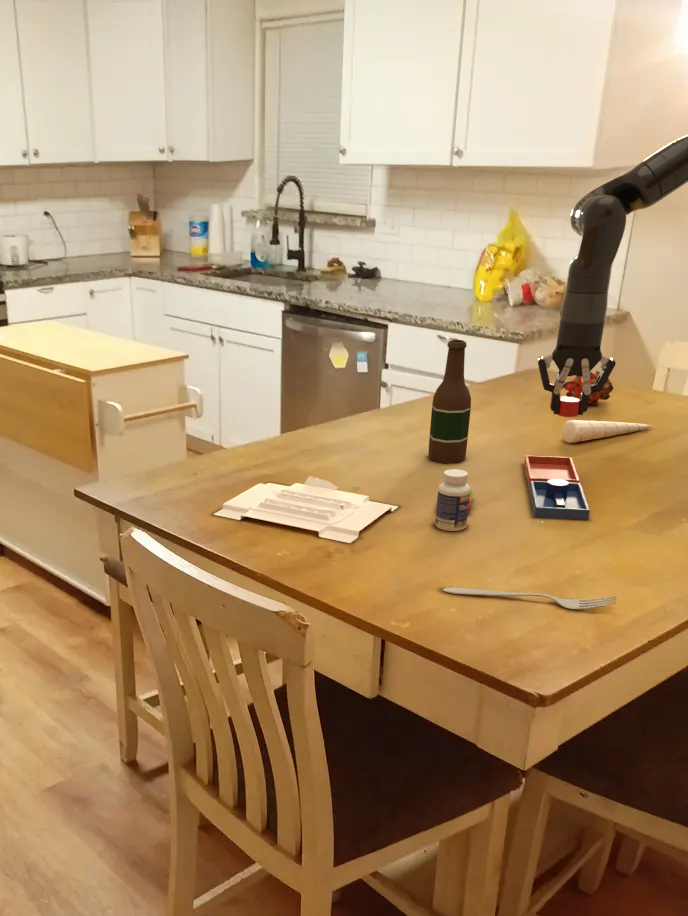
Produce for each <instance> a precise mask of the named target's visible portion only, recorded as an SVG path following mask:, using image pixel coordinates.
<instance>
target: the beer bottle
mask: <svg viewBox="0 0 688 916" xmlns="http://www.w3.org/2000/svg"><path fill="white" fill-rule="evenodd" d="M446 347H447V348H448V350H447V356H446V364H445V370H444V375H443V379H442V382H441V383H440V384H439V386H438V387H437V388H436V390H435V392H434V393H433V398H432V403H431V414H430V415H431V416H430V427H429V437H428V438H429V439H428V457H429V458H430V460H431V461H432V462H436V463H440V464H457V463H460V462H462V461H464V460H466V455H467V448H468V441H469V431H470V430H469V429H470V419H471V409H472V396H471V393H470V389H469V387H468V386H467V384H466V382H465V381H466V380H465V359H466V358H465V354H466V348H467V347H468V345H467V342H466V341H465V340H463V339H452V340H449V341H448V343H447V345H446Z"/></svg>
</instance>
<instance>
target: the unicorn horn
mask: <svg viewBox="0 0 688 916" xmlns="http://www.w3.org/2000/svg"><path fill="white" fill-rule="evenodd" d="M652 427H653V425H651V424H646V423H639V422H638V423H635V422H620V421H606V420H605V421H603V420H580V419H579V420H577V419H569V420H567V421H566V422H565V423H564V424H563V426H562V429H561V434H562V435H561V437H562V438H563V440H564V441H565V442H566V443H569V444H575V443H580V442H587V441H590V440H591V441H593V440H596V439H603V438H608V437H613V436H620V435H624V434H627V433H628V434H630V433H635V432H638V431H644V430H647V429H650V428H652Z"/></svg>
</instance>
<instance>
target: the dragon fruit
mask: <svg viewBox="0 0 688 916" xmlns="http://www.w3.org/2000/svg"><path fill="white" fill-rule="evenodd" d="M600 372H601V371H599V370H595V372H594V373H593V372H592V371H590V372H589V373H590V385H591V384H594V383H595V381H596V379H597V377H598V375H599V374H600ZM563 389H564V390H565V391H567V392H565V396H568V397H574V398H578V399H580V393H582V380H581V377H579V376H575V378H572V379H570V380H567V381H565V383H564V384H563V387H562V389H561V390H563ZM613 390H614V386H613V384H612V382H611V380H610V377H608V379H607V381H606V383H605V385H604V386H603V388H602V390H601V391H600V392H594V393H592V394H591V395H590V397H589V403H590V404H591V405H598V404H599V401H600V400H601V401H607V400H608V399H610V398H611V395H610V393H612V391H613Z"/></svg>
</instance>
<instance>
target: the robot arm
mask: <svg viewBox="0 0 688 916" xmlns="http://www.w3.org/2000/svg"><path fill="white" fill-rule="evenodd" d="M686 184H688V134H687V135H685V136H682V137H680V138H678V139H676V140H674V141H672V142H670V143H668V144H667V145H665V146H663V147H662V148H660V149H659V150H657V151H656V152H654V153H653V154H651V155H650V156H648V157H647V158H645V159H644V160H642V161H641V162H639V163H637V165H635V166H634V167H633V168H631V169H630V170H628V171H627V172H625V173H623V174H621V175H619V176H617V177H615V178H613V179H611V180H609V181H607V182H605V183H604V184H601V185H600V186H598V187H596V188H594V189H592V190H590V191H589V192H588V193H586V194H585V195H583V196H582V197H581V198H580V199H579V200H578V201H577V202H576V203H575V205H574V206H573V208H572V210H571V213H570V218H569V221H570V227H571V229H572V230H573V232H575V234H577V235H578V236H580V237H581V242H580V245H579V249H578V253H577V255H575V256H574V257H573V258H572V259H571V260H570V263H569V267H568V272H567V279H566V286H565V292H564V297H563V300H562V303H561V310H560V311H559V312H560V314H559V323H558V331H557V338H556V345H555V348H554V349H553V351H552V352H551V354H548V355H545V356H541V355H540V356H538V357H537V358H536V362H537V367H538V370H539V374H540V379H541V383H542V384H541V385H542V388H543V389H544V391H547V392H550V393H551V398H550V403H549V404H550V405H549V407H550V411H551V412H552V413H553V415H557V414H558V411H559V404H560V397H561V396H562V394H561V391H562V390H563V389H562V387H563V385H564V384H565V383H566V382H567V381H566V380H567V378H568V377H574V376H575V377H577V376H579V377H581V380H582V393H580V400H581V402H580V408H579V414H578V416H583V415H584V413H587V411H588V407H589V403H590V402H589V397H590V395H591V394H592V393H594V392H600V391H601V390H602V388H603V386H604V385H605V383H606V381H607V379H608V378H610V376H611V374H612V372H613V369H614V368H615V367H616V364H617V363H616V361H615V359H614V358H613V357H607V356H605V355H603V353H602V351H601V348H602V347H601V346H602V340H603V336H604V335H603V334H604V327H605V322H606V316H607V310H608V296H609V290H610V289H609V288H610V281H611V275H612V268H613V263H614V261H615V259H616V257H617V254H618V251H619V248H620V246H621V243H622V240H623V237H624V233H625V230H626V225H627V215H630V214H631V213H633V212H635V211H636V212H637V211H640V210H644V209H648V208H650V207H652V206H654V205H655V204H657V203H659V202H660V201H662V200H664V198H667V196H670V195H671V194H672V193H674V192H675V191H676V190H678V189H680V188H681V187H683V186H684V185H686ZM552 362H553V363H554V364H555V365H556V367H557V369H558V372H557V374H556V377H555V380H554V382H550V378H549V373H548V369H550V368H551V363H552ZM598 363H600V364H599V367H600V368H601V370H600V371H599V372H600V374H599V375H598V377H597V379H596V381H595V383H594V384H591V385H590V373H589V372H592V370H593V369H595V367H596V366H597V365H598Z"/></svg>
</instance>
